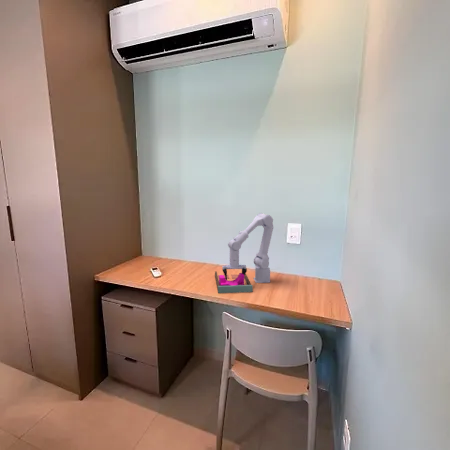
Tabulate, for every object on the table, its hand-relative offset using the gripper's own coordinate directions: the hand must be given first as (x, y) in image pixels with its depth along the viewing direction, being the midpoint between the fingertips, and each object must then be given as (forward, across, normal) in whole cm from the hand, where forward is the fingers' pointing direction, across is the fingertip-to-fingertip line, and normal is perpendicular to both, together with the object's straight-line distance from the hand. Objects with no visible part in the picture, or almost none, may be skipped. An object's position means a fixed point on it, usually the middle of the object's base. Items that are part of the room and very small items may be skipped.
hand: (234, 279), depth 168 cm
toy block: (+3, +2, +4) cm, 5 cm away
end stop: (+3, 0, +10) cm, 11 cm away
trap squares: (+4, +1, -14) cm, 15 cm away
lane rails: (+4, +1, -4) cm, 5 cm away
